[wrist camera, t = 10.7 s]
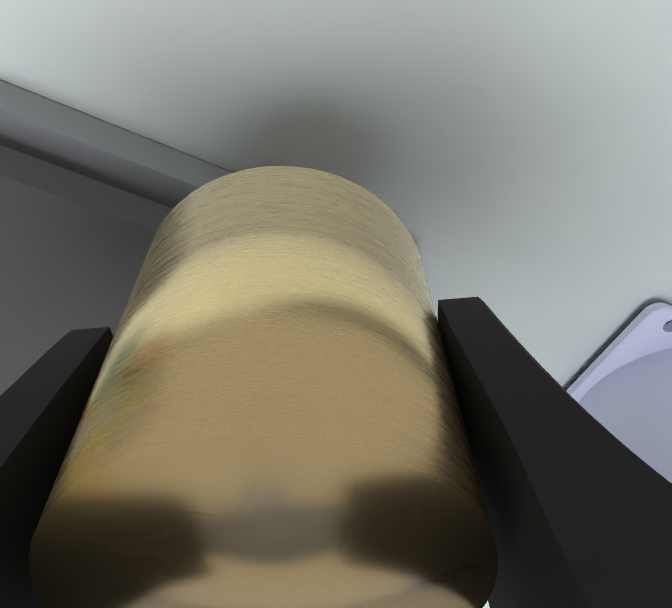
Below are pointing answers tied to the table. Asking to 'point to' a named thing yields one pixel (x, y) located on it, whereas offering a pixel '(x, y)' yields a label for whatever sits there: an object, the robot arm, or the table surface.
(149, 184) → the scale
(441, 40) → the table surface
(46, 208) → the scale pan
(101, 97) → the table surface
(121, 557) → the cylinder
